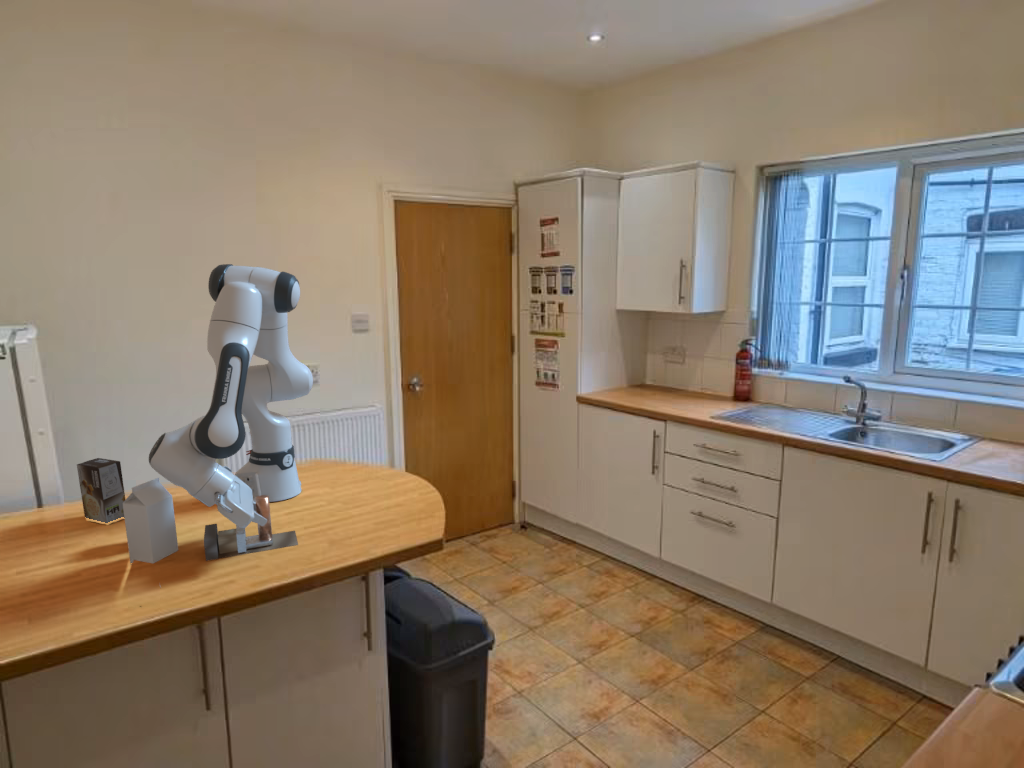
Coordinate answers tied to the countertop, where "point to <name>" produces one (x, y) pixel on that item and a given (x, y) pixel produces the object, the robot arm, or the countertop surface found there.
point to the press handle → (263, 531)
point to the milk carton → (150, 522)
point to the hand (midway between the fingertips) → (264, 519)
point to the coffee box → (101, 489)
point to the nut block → (227, 541)
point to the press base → (278, 542)
